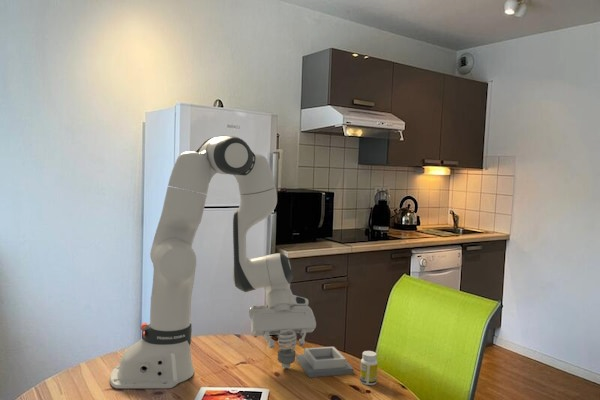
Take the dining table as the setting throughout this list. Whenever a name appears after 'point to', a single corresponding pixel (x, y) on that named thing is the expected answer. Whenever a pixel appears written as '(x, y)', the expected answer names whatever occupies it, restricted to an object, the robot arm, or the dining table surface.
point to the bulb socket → (323, 362)
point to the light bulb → (287, 348)
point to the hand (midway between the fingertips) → (287, 346)
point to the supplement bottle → (368, 368)
